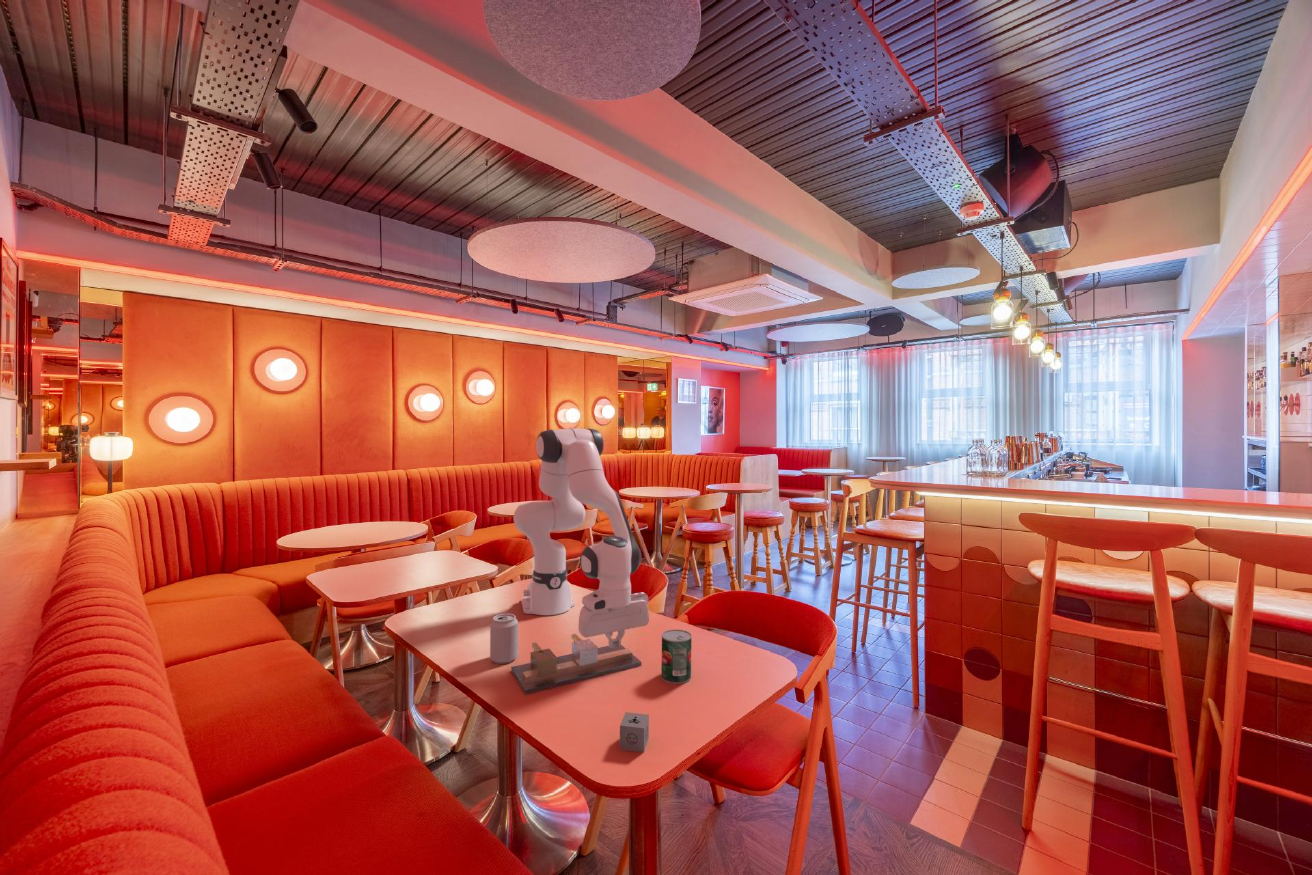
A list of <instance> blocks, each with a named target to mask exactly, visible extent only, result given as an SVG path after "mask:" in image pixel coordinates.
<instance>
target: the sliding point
mask: <svg viewBox="0 0 1312 875" xmlns="http://www.w3.org/2000/svg"><path fill="white" fill-rule="evenodd" d="M570 637H571V640H572V641H573V642H571V654H572V658H573V659H574V660H575V661H576V662H577V663H578V665H579V666H583V665H587V664H591V663H596V662H598V648H599V647H598V645H596V643H594V642H593V641H592V640H591V639H590V638H588V639H582V638H581V637H580V636H578V634H576V633H571V636H570Z"/></svg>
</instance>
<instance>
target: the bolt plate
mask: <svg viewBox="0 0 1312 875" xmlns="http://www.w3.org/2000/svg"><path fill="white" fill-rule="evenodd" d="M531 648H532V649H533V651H530V662H527V663H524V664H519V665H515V666H511V667H510V669H511V673H512V675H513V676H514V677H515V679H516V681H517V683H518V684H519V686H520V688H521V690H522V691H523V693H524V694H525V695H529V694H532V693H536V692H540V691H544V690H549V689H553V688H557V687H560V686H565V685H568V684H573V683H577V682H580V681H584V680H589V679H592V678H597V677H601V676H604V675H605V676H606V675H609V674H613V673H616V672H621V671H625V670H629V669H634V668H636V667H637V668H638V667H641V666H642V664H643V663H642V661H641V659H639V658H638V657H637V656H635V655H634V654H633V651H632V650H631V649H629V648H625V647H624V646H623V645H622V644H621V646H618V647H613V648H610V647H609V645H606V646H602V647H601V646H600V647H598V662H596V663H591V664H587V665H583V666H579V665H578V663H577V662H576V661H575V660H574V659H573V658H572V653H569V654H565V655H559V656H557V655H556V654H554V652H553V651H552V650H551V649H550V648H545V649H542V648H541V647H540V645H539V644H538V643H537V642H531Z"/></svg>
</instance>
